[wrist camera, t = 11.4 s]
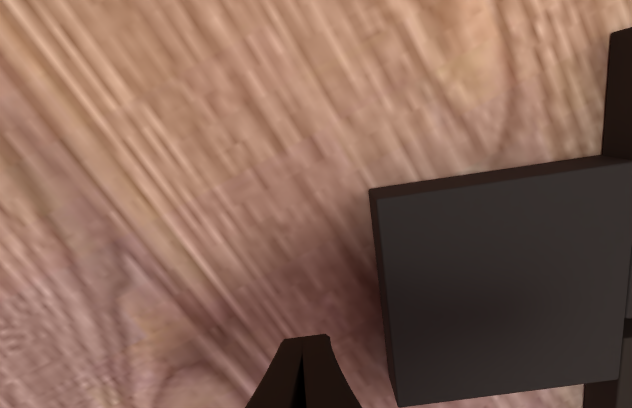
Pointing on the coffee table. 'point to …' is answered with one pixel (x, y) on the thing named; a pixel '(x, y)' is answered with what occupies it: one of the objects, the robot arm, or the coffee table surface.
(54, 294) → the coffee table surface
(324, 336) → the robot arm
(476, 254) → the graphite pad
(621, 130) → the black mat
